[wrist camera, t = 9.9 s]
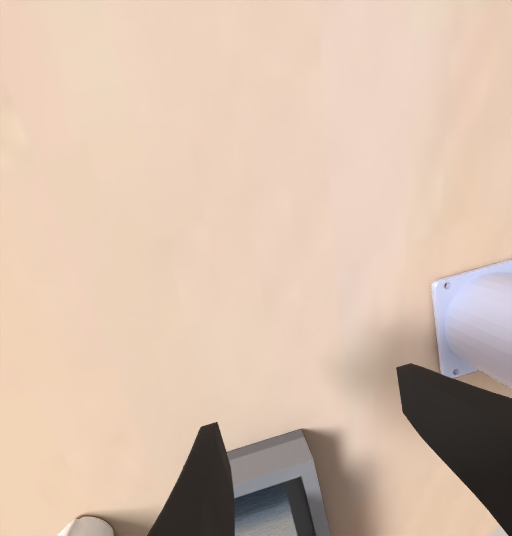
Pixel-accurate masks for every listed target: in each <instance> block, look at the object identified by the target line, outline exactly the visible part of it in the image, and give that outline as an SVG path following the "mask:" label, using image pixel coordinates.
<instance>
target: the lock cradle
mask: <svg viewBox="0 0 512 536" xmlns="http://www.w3.org/2000/svg"><path fill="white" fill-rule="evenodd" d="M226 453H227V456H228V459H229V462H230V466H231V472H232V481H233V490H234V498H237V497H240V496H243V495H246V494H249V493H252V492H255V491H258V490H261V489H264V488H267V487H270V486H273V485H276V484H279V483H282V482H284V485H285V489H286V493H287V496H288V500H289V504H290V508H291V512H292V516H293V519H294V523H295V527H296V531H297V535H298V536H331V534H330V530H329V525H328V521H327V517H326V512H325V508H324V504H323V499H322V495H321V490H320V486H319V482H318V477H317V473H316V469H315V464H314V460H313V457H312V455H311V452H310V450H309V447H308V445H307V442H306V440H305V437H304V435H303V432H302V430H301V429H299V430H296V431H293V432H290V433H287V434H283V435H280V436H277V437H274V438H271V439H268V440H264V441H261V442H258V443H255V444H252V445H248V446H245V447H242V448H239V449H236V450H232V451H229V452H226ZM183 467H184V466H183Z"/></svg>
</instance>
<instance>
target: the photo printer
mask: <svg viewBox="0 0 512 536" xmlns="http://www.w3.org/2000/svg"><path fill="white" fill-rule="evenodd" d="M113 533H114V531H113V529H112V527H111V526H110V525H109V524H108V523H107V522H105V521H104V520H102V519H99V518H96V517H90V516H87V517H81V518H80V519H74V520H72V521H71V522H70V523H69V524H68V525H67V526H66V527H65V528H64V529H63V530H62V531H61V532H60V533H59V534H58V535H57V536H114V535H113Z"/></svg>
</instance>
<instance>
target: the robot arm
mask: <svg viewBox="0 0 512 536" xmlns="http://www.w3.org/2000/svg"><path fill="white" fill-rule="evenodd" d="M445 283H447V285H446V287H444V285H445ZM431 290H432V299H433V308H434V317H435V326H436V335H437V344H438V353H439V362H440V371H441V374H439V373H437V372H434V371H431V370H429V369H426V368H423V367H420V366H417V365H414V364H411V363H410V364H407V365H404V366H400V367H397V368H396V369H397V376H398V382H399V389H400V396H401V403H402V410H403V413H404V415H405V416H406V417H407V419H408V420H409V421H410V423H411V424H412V426H413V427H414V428H415V430H416V431H417V432H418V434H419V435H420V436H421V437H422V438H423V440H424V441H425V442H426V443H427V444H428V445H429V446H430V447H431V448H432V449H433V450H434V452H435V453H436V454H437V455H438V456H439V457H440V458H441V459H442V460H443V461H444V462H445V463H446V464H447V466H448V467H449V468H450V469H451V470H452V471H453V472H454V473H455V474H456V475H457V476H458V477H459V478H460V479H461V480H462V482H463V483H464V484H465V485H466V486H467V487H468V488H469V489H470V490H471V491H472V492H473V493H474V494H475V496H476V497H477V498H478V499H479V500H480V501H481V502H482V504H483V505H484V506H485V507H486V508H487V509H488V511H489V512H490V513H491V514H492V516H493V517H494V518H495V519H496V521H497V522H498V523H499V524H500V526H501V527H502V528H503V529H504V530H505V532H506V533H507V534H508V535H509V536H512V398H509V397H506V396H502V395H499V394H496V393H493V392H490V391H487V390H484V389H481V388H478V387H475V386H472V385H469V384H466V383H464V382H461V381H458V380H455V379H453V378H456V377H459V376H462V375H465V374H468V373H472V372H475V371H478V370H480V371H481V372H483V373H485V374H486V375H488V376H490V377H491V378H493V379H495V380H496V381H498V382H500V383H501V384H503V385H505V386H507V387H508V388H510V389H512V259H510V260H506V261H503V262H499V263H496V264H492V265H488V266H485V267H481V268H478V269H474V270H471V271H467V272H463V273H460V274H456V275H453V276H449V277H445V278H442V279H438V280H436V281H434V282H433V283H432V285H431ZM453 371H454V372H453ZM147 536H235V508H234V490H233V481H232V472H231V466H230V462H229V459H228V456H227V453H226V449H225V446H224V443H223V439H222V436H221V433H220V429H219V426H218V423H217V422H216V423H212V424H209V425H206V426H202V427H201V428H200V430H199V432H198V434H197V437H196V439H195V442H194V444H193V447H192V449H191V452H190V454H189V456H188V459H187V461H186V463H185V465H184V467H183V470H182V472H181V474H180V476H179V478H178V480H177V482H176V484H175V486H174V488H173V490H172V492H171V494H170V496H169V498H168V500H167V502H166V504H165V506H164V507H163V509H162V511H161V513H160V515H159V516H158V518H157V520H156V522H155V523H154V525H153V527H152V528H151V530H150V532H149V533H148V535H147Z"/></svg>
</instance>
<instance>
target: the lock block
mask: <svg viewBox="0 0 512 536" xmlns="http://www.w3.org/2000/svg"><path fill="white" fill-rule="evenodd" d="M234 508H235V536H298V535H297V531H296V527H295V523H294V519H293V516H292V512H291V508H290V504H289V500H288V496H287V493H286V489H285V485H284V482H282V483H279V484H276V485H273V486H270V487H267V488H264V489H261V490H258V491H255V492H252V493H249V494H246V495H243V496H240V497H237V498H234Z"/></svg>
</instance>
